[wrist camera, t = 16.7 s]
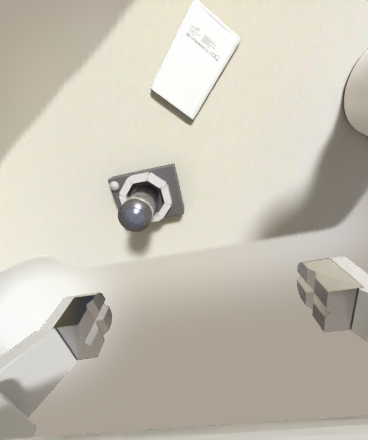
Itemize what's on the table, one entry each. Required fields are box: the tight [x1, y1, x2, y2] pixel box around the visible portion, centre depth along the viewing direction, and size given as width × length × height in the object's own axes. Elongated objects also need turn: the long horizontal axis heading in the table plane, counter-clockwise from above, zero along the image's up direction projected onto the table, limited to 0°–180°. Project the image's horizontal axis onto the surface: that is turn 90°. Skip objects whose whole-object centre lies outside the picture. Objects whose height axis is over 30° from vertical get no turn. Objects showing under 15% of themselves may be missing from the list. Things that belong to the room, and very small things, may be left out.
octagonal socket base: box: [108, 164, 184, 222], centre depth 37 cm, size 12×9×4 cm
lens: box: [118, 185, 159, 232], centre depth 32 cm, size 5×5×9 cm
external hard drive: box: [150, 0, 241, 120], centre depth 30 cm, size 2×8×12 cm
